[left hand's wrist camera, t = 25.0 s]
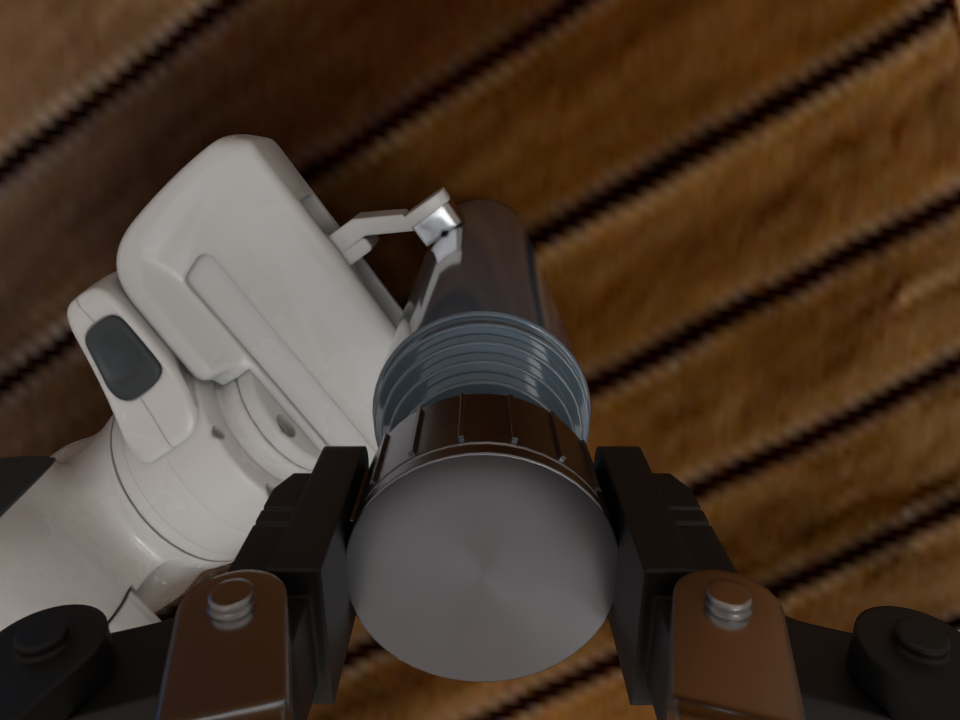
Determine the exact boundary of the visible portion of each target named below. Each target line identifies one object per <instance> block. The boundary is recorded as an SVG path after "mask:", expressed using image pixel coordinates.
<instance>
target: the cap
mask: <svg viewBox="0 0 960 720" xmlns="http://www.w3.org/2000/svg"><path fill="white" fill-rule="evenodd" d="M350 525H352V526H351V530H350V533H349V536H348V539H347V544H346V560H347V572H348V584H349V595H350V603H351V605H352V607H353V609H354V611H355V614H356V616H357V617H358V619H359V620H360V622H361V623H362V625H363V626H364V628H365V629H366V630H367V631H368V633H369V634H370V635H371V636H372V637H373V638H374V640H376V641H377V642H378V643H379V644H380V645H381V646H382V647H383V648H384V649H385V650H387V651H388V652H390V653H391V654H392V655H394V656H395V657H397V658H398V659H400V660H402V661H403V662H405V663H407V664H409V665H411V666H413V667H415V668H417V669H420V670H422V671H425V672H427V673H430V674H433V675H437V676H440V677H444V678H449V679H455V680H460V681H472V682H495V681H503V680H511V679H515V678H520V677H524V676H528V675H531V674H534V673H537V672H540V671H543V670H545V669H547V668H549V667H552V666H554V665H556V664H558V663H560V662H561V661H563V660H565V659H566V658H568V657H569V656H571V655H572V654H574V653H575V652H576V651H578V650H579V649H580V648H581V647H583V646H584V645H585V644H586V643H587V642H588V641H589V640H590V639H591V638H592V637H593V636H594V635H595V634H596V633H597V631H598V630H599V629H600V627H601V626H602V625H603V623H604V622H605V620H606V618H607V617H608V615H609V613H610V611H611V610H612V607H613V602H614V592H615V580H616V569H617V557H618V539H617V535H616V532H615V529H614V526H613V523H612V520H611V516H610V513H609V510H608V507H607V504H606V501H605V498H604V495H603V492H602V489H601V485H600V482H599V479H598V476H597V473H596V470H595V467H594V464H593V462H592V460H591V457H590V454H589V451H588V448H587V445H586V442H585V441H584V439H583V440H580V439H579V438H578V436H577V435H576V434H575V433H574V432H573V431H572V429H571V428H569V427H568V426H567V425H566V424H565V423H564V422H563V421H562V420H560V419H559V418H558V417H556V415H555V413H554V412H553V411H550V412H549V411H547V410H545V409H543V408H541V407H539V406H537V405H535V404H533V403H530V402H527V401H524V400H521V399H519V398H514V397H513V395H509V394H508V396H505V395H497V394H467V395H466V393H461V395H460V396H454V397H450V398H447V399H443V400H440V401H437V402H435V403H432V404H430V405H427V406H425V407H423V408H422V407H421V406H420V407H419V408H417V411H416V412H414V413H412V414H411V415H409V416H408V417H407V418H406V419H404V420H403V421H402V422H400V423H399V424H398V425H397V426H396V427H395V428H394V429H393V430H392V431H391V432H390V433H389V434H387V433H385V435H384V436H383V439H382V443H381V445H380V446H379V448H378V450H377V452H376V453H375V455H374V457H373V460H372V462H371V465H370V468H369V469H367V468H366V471H365V474H364V477H363V480H362V483H361V487H360V490H359V493H358V496H357V499H356V502H355V506H354V509H353V512H352V515H351V518H350Z"/></svg>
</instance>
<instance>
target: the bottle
mask: <svg viewBox="0 0 960 720" xmlns="http://www.w3.org/2000/svg"><path fill="white" fill-rule="evenodd" d="M457 207H458V209H459V210H460V212H461V213H462V215H463V216H464V218H463V221H462V222H461V223H460V224H459V225H457V226H456V227H455V228H453V229H452V230H450V231H442V234H441V237H440V238H439V239H437V240H436V241H435V242H433V243H432V244H430V245H429V246H428V248H427V251H426V253H425V256H424V259H423V261H422V264H421V266H420V269H419V272H418V274H417V277H416V280H415V282H414V285H413V287H412V290H411V293H410V295H409V298H408V301H407V303H406V306H405V308H404V311H403V314H402V316H401V319H400V322H399V324H398V327H397V329H396V332H395V335H394V337H393V340H392V343H391V345H390V348H389V351H388V353H387V356H386V358H385V361H384V364H383V366H382V369H381V372H380V374H379V377H378V380H377V383H376V386H375V390H374V396H373V406H372V415H373V425H374V434H375V439H376V443H377V447H378V448H379V446H380V445H381V443H382V439H383V436H384V435H385V433H387V434H389V433H390V432H391V431H392V430H393V429H394V428H395V427H396V426H397V425H398V424H399V423H400V422H402V421H403V420H404V419H406V418H407V417H408V416H409V415H411V414H412V413H414V412H416V411H417V408H419V407H420V406H421V407H422V408H423V407H425V406H427V405H430V404H432V403H435V402H437V401H440V400H443V399H447V398H450V397H454V396H460V395H461V393H466V395H467V394H497V395H505V396H508V394H509V395H513V397H514V398H519V399H521V400H524V401H527V402H530V403H533V404H535V405H537V406H539V407H541V408H543V409H545V410H547V411H549V412H550V411H553V412H554V413H555V415H556V417H558V418H559V419H560V420H562V421H563V422H564V423H565V424H566V425H567V426H568V427H569V428H571V429H572V431H573V432H574V433H575V434H576V435H577V436H578V438H579V439H580V440H583V439H584V441H585V442H586V445H587V441H588V435H589V430H590V420H591V401H590V393H589V389H588V385H587V382H586V378H585V376H584V373H583V371H582V368H581V366H580V363H579V361H578V358H577V356H576V353H575V351H574V348H573V346H572V343H571V341H570V338H569V335H568V333H567V330H566V328H565V325H564V323H563V320H562V318H561V315H560V313H559V310H558V308H557V305H556V303H555V300H554V298H553V295H552V293H551V290H550V287H549V285H548V282H547V280H546V277H545V275H544V272H543V270H542V267H541V265H540V262H539V260H538V257H537V255H536V252H535V250H534V247H533V245H532V242H531V240H530V237H529V234H528V232H527V230H526V227H525V225H524V224H523V222H522V221H521V219H520V218H519V217H518V216H517V215H516V214H515V213H514V212H513V211H512V210H511V209H509V208H508V207H506V206H504V205H502V204H500V203H498V202H495V201H491V200H483V199H480V200H471V201H467V202H463V203H461V204H459V205H457Z"/></svg>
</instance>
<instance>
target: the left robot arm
mask: <svg viewBox="0 0 960 720" xmlns="http://www.w3.org/2000/svg"><path fill="white" fill-rule="evenodd" d="M594 467H595V470H596V473H597V476H598V479H599V482H600V485H601V489H602V492H603V495H604V498H605V501H606V504H607V507H608V510H609V513H610V516H611V520H612V523H613V526H614V529H615V532H616V535H617V539H618V557H617V569H616V580H615V592H614V602H613V607H612V610H611V611H610V613H609V615H608V618H609V622H610V626H611V629H612V633H613V637H614V641H615V645H616V649H617V653H618V657H619V661H620V665H621V669H622V673H623V677H624V681H625V685H626V689H627V693H628V696H629V700H630V704H631V705H653V707H654V710H655V713H656V717H657V720H960V623H958V624H955V625H952V626H950V625H948V624H947V623H945V622H943V621H941V620H939V619H937V618H934V617H932V616H930V615H927V614H924V613H922V612H919V611H915V610H911V609H907V608H902V607H893V606H879V607H874V608H870V609H867V610H865V611H863V612H862V613H860V614H859V616H858V617H857V618H856V621H855V625H854V629H853V633H848V632H844V631H839V630H835V629H830V628H826V627H821V626H817V625H812V624H808V623H804V622H801V621H797V620H795V619H792V618H789V617H786V616H785V614H784V611H783V608H782V606H781V604H780V602H779V601H778V599H777V598H776V597H775V596H774V595H773V594H772V593H771V592H770V591H769V590H768V589H767V588H765V587H764V586H762V585H761V584H759V583H757V582H756V581H754V580H752V579H750V578H747V577H745V576H743V575H740V574H737V572H736V570H735V568H734V566H733V565H732V563H731V561H730V559H729V557H728V556H727V554H726V552H725V550H724V548H723V547H722V545H721V543H720V541H719V540H718V538H717V536H716V534H715V532H714V531H713V529H712V527H711V526H709V522H708V520H707V518H706V516H705V514H704V513H703V511H701V510H700V506H699V504H698V502H697V500H696V498H695V497H694V495H693V493H692V491H691V489H690V488H688V487H687V486H686V485H684V484H683V483H682V482H680V481H679V480H678V479H676V478H675V477H674V476H672V475H671V474H652V472H651V469H650V467H649V465H648V463H647V461H646V459H645V457H644V455H643V453H642V451H641V449H640V447H638V446H598V447H597V449H596V453H595V463H594ZM366 468H367V469H369V458H368V451H367V448H366V446H325V447H324V448H323V449H322V451H321V454H320V456H319V458H318V460H317V462H316V464H315V466H314V469H313V471H312V473H293V474H292V475H291V476H289V477H288V478H287V479H285V480H284V481H283V482H281V483H280V484H279V485H278V486H276V487H275V488H274V489H273V490H272V492H271V494H270V496H269V498H268V500H267V501H266V503H265V505H264V510H261V512H260V514H259V516H258V518H257V520H256V521H255V522H256V524H255V525H253V527H252V529H251V530H250V532H249V534H248V536H247V538H246V540H245V541H244V543H243V545H242V547H241V549H240V550H239V552H238V554H237V556H236V558H235V560H234V561H233V563H232V565H231V567H230V569H229V571H228V572H227V573H224V574H220V575H217V576H215V577H213V578H210V579H208V580H206V581H204V582H203V583H201V584H199V585H198V586H196V587H195V588H193V589H192V590H191V591H190V592H189V593H188V594H187V595H186V596H185V597H184V598H183V599H182V601H181V602H180V604H179V606H178V608H177V611H176V615H175V617H174V618H171V619H168V620H165V621H161V622H158V623H153V624H149V625H144V626H140V627H136V628H131V629H127V630H122V631H118V632H113V633H110V629H109V625H108V621H107V618H106V616H105V614H104V613H103V612H102V611H100V610H99V609H98V608H95V607H92V606H89V605H83V604H70V605H61V606H56V607H52V608H48V609H44V610H41V611H38V612H36V613H33V614H30V615H28V616H26V617H24V618H22V619H20V620H18V621H16V622H14V623H12V624H11V625H9V626H8V627H6V628H5V629H3V630H2V631H0V720H307V719H308V715H309V712H310V708H311V705H312V704H334V701H335V697H336V693H337V689H338V685H339V681H340V677H341V673H342V669H343V665H344V661H345V657H346V653H347V649H348V645H349V640H350V636H351V632H352V628H353V624H354V620H355V616H356V614H355V611H354V609H353V607H352V605H351V603H350V595H349V584H348V572H347V560H346V544H347V539H348V536H349V533H350V530H351V526H352V525H350V518H351V515H352V512H353V509H354V506H355V502H356V499H357V496H358V493H359V490H360V487H361V483H362V480H363V477H364V474H365V471H366Z"/></svg>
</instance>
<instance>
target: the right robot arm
mask: <svg viewBox="0 0 960 720" xmlns="http://www.w3.org/2000/svg"><path fill="white" fill-rule="evenodd" d="M463 218H464V216H463V215H462V213H461V212H460V210H459V209H458V207H457V206H456V204H455V203H454V201H453V200H452V198H451V197H450V195H449V194H448V192H447V191H446V190H445V188H444V187H442V188H441V189H439V190H437V191H436V192H434V193H433V194H432V195H430V196H429V197H427V198H426V199H425V200H423V201H422V202H421V203H419V204H418V205H416V206H415V207H414V208H412V209H411V210H409V211H408V210H407V209H396V210H383V211H371V212H360V213H359V214H358V215H356V216H355V217H354V218H352V219H351V220H349V221H348V222H347V223H345V224H344V225H343V226H341V227H340V226H339V225H338V223H337V222H336V221H335V220H334V218H333V217H332V216H331V214H330V213H329V212H328V210H327V209H326V208H325V206H324V205H323V204H322V202H321V201H320V200H319V198H318V197H317V196H316V194H315V193H314V192H313V190H312V189H311V188H310V187H309V185H308V184H307V183H306V181H305V180H304V179H303V177H302V176H301V175H300V173H299V172H298V171H297V169H296V168H295V167H294V165H293V164H292V163H291V161H290V160H289V159H288V157H287V156H286V155H285V153H284V152H283V151H282V149H281V148H280V147H279V146H278V144H277V143H276V142H275V141H273V140H272V139H270V138H267V137H261V136H255V135H245V134H235V135H229V136H226V137H223V138H220V139H218V140H216V141H215V142H213V143H212V144H210V145H209V146H208V147H206V148H205V149H204V150H203V151H201V152H200V153H199V154H198V155H197V156H196V157H194V158H193V159H192V160H191V161H190V162H189V163H188V164H187V165H186V166H184V167H183V168H182V169H181V170H180V171H179V172H178V173H177V174H176V175H175V176H174V177H173V178H172V179H171V180H170V181H169V182H168V183H167V184H166V185H165V186H164V187H163V188H162V189H161V190H160V191H159V192H158V193H157V194H156V195H155V196H154V197H153V199H152V200H151V201H150V202H149V203H148V204H147V205H146V206H145V208H144V209H143V210H142V211H141V212H140V213H139V215H138V216H137V217H136V218H135V219H134V221H133V222H132V223H131V225H130V226H129V227H128V229H127V230H126V232H125V234H124V236H123V238H122V240H121V242H120V245H119V248H118V252H117V258H116V267H117V271H115V272H113V273H111V274H109V275H108V276H106V277H104V278H103V279H101V280H99V281H98V282H96V283H95V284H93V285H92V286H90V287H89V288H88V289H86V290H85V291H84V292H82V293H81V294H80V295H79V296H77V297H76V298H75V299H74V300H73V301H72V302H71V303H70V305H69V307H68V310H67V318H68V322H69V325H70V327H71V329H72V331H73V333H74V335H75V337H76V339H77V341H78V343H79V345H80V347H81V348H82V350H83V352H84V354H85V356H86V358H87V360H88V362H89V363H90V365H91V367H92V369H93V371H94V373H95V375H96V377H97V379H98V381H99V383H100V385H101V387H102V389H103V391H104V393H105V396H106V398H107V400H108V402H109V404H110V407H111V409H112V411H113V415H112V416H111V418H110V419H109V420H108V422H107V423H106V425H105V426H104V427H103V429H102V430H101V431H99V432H98V433H97V434H95V435H93V436H91V437H87V438H84V439H81V440H78V441H75V442H73V443H71V444H69V445H66V446H65V447H63V448H61V449H60V450H58V451H57V452H55V453H54V454H53V455H51V456H50V457H47V456H20V457H9V458H0V631H2V630H3V629H5V628H6V627H8V626H9V625H11V624H12V623H14V622H16V621H18V620H20V619H22V618H24V617H26V616H28V615H30V614H33V613H36V612H38V611H41V610H44V609H48V608H52V607H56V606H61V605H70V604H83V605H89V606H92V607H95V608H98V609H99V610H100V611H102V612H103V613H104V614H105V616H106V618H107V621H108V625H109V629H110V633H113V632H118V631H122V630H127V629H131V628H136V627H140V626H144V625H149V624H153V623H158V622H161V620H160V619H159V618H158V617H157V616H156V615H155V614H154V613H155V612H156V611H158V610H160V609H161V608H163V607H165V606H166V605H168V604H169V603H171V602H172V601H174V600H175V599H176V598H178V597H179V596H180V595H182V594H183V593H184V592H185V591H186V590H187V589H188V588H189V587H190V585H191V584H192V583H193V582H194V581H195V579H196V578H197V577H198V576H199V575H200V574H201V573H202V572H204V571H206V570H208V569H212V568H217V567H220V566H223V565H227V564H229V563H232V562H233V561H234V560H235V558H236V556H237V554H238V552H239V550H240V549H241V547H242V545H243V543H244V541H245V540H246V538H247V536H248V534H249V532H250V530H251V529H252V527H253V525H255V524H256V522H255V521H256V520H257V518H258V516H259V514H260V512H261V510H264V505H265V503H266V501H267V500H268V498H269V496H270V494H271V492H272V490H273V489H274V488H275V487H276V486H278V485H279V484H280V483H281V482H283V481H284V480H285V479H287V478H288V477H289V476H291V475H292V474H293V473H312V471H313V469H314V466H315V464H316V462H317V460H318V458H319V456H320V454H321V451H322V449H323V448H324V447H325V446H366V448H367V451H368V458H369V468H370V465H371V462H372V460H373V457H374V455H375V453H376V452H377V450H378V447H377V443H376V439H375V434H374V425H373V415H372V406H373V396H374V390H375V386H376V383H377V380H378V377H379V374H380V372H381V369H382V366H383V364H384V361H385V358H386V356H387V353H388V351H389V348H390V345H391V343H392V340H393V337H394V335H395V332H396V329H397V327H398V324H399V322H400V319H401V316H402V314H403V309H402V308H401V307H400V305H399V304H398V303H397V301H396V300H395V299H394V297H393V296H392V295H391V293H390V292H389V291H388V289H387V288H386V287H385V286H384V284H383V283H382V282H381V280H380V279H379V278H378V276H377V275H376V274H375V272H374V271H373V270H372V268H371V267H370V266H369V264H368V263H367V262H366V260H365V259H364V258H363V256H364V255H365V254H367V253H368V252H369V251H371V250H372V249H373V247H374V246H375V245H376V243H377V242H378V240H379V237H378V236H377V235H378V234H388V233H398V232H408V231H414V230H415V232H416V233H417V234H418V236H419V237H420V238H421V240H422V241H423V242H424V244H425V245H426V246H427V247H428V246H429V245H430V244H432V243H433V242H435V241H436V240H437V239H439V238H440V237H441V234H442V231H450V230H452V229H453V228H455V227H456V226H457V225H459V224H460V223H461V222H462V221H463Z"/></svg>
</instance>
